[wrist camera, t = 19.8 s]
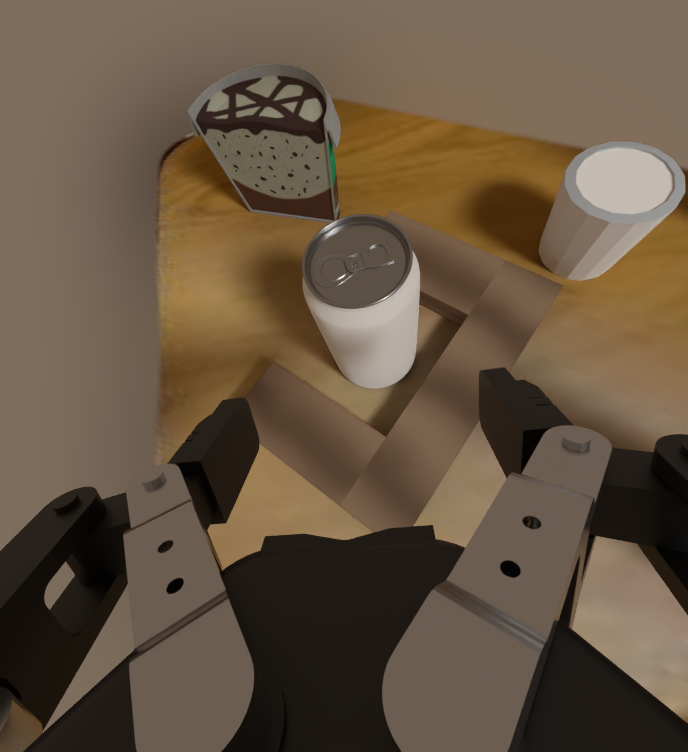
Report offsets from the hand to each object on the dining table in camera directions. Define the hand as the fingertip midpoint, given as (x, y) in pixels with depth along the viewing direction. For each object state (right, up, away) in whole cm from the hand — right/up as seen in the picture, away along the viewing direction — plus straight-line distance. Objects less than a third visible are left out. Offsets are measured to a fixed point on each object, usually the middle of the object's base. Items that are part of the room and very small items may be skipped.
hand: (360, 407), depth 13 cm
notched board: (+3, +2, +16) cm, 17 cm away
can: (+2, +3, +17) cm, 17 cm away
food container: (-5, +19, +24) cm, 31 cm away
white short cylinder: (+18, +11, +17) cm, 27 cm away
